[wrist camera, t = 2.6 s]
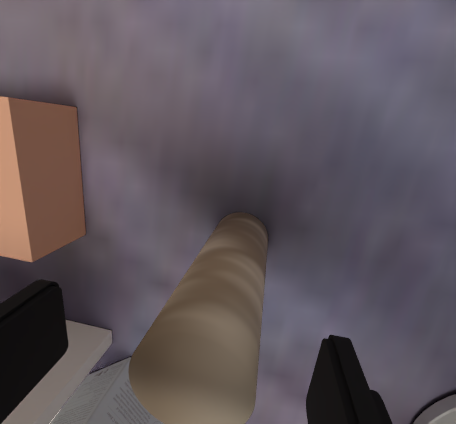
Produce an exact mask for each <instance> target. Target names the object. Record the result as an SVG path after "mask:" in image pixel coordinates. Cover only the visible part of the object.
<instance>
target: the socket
mask: <svg viewBox="0 0 456 424" xmlns="http://www.w3.org/2000/svg"><path fill="white" fill-rule="evenodd" d="M84 235H86V229H85V215H84V201H83V188H82V174H81V160H80V147H79V133H78V119H77V107H72V106H65V105H58V104H51V103H44V102H37V101H30V100H23V99H16V98H9V97H0V256H4V257H9V258H13V259H18V260H23V261H28V262H34V261H36V260H38V259H40V258H42V257H44V256H46V255H47V254H49V253H51V252H53V251H55V250H57V249H59V248H61V247H63V246H65V245H67V244H69V243H71V242H72V241H74V240H76V239H78V238H80V237H82V236H84Z"/></svg>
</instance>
